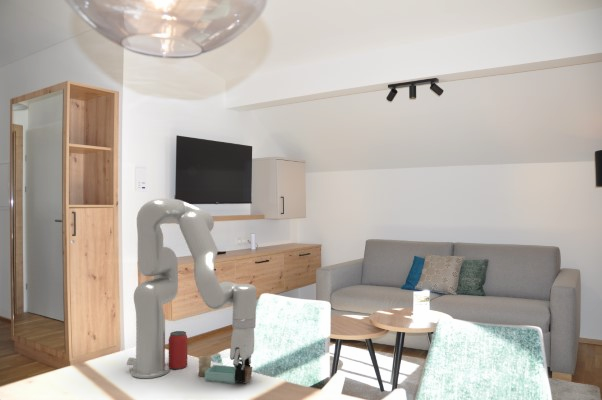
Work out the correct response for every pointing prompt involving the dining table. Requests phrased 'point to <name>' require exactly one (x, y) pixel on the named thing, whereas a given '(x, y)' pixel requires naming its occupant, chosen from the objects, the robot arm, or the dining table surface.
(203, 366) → the beech dowel
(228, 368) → the tote
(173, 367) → the beer can
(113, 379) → the dining table surface
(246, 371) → the walnut cube
